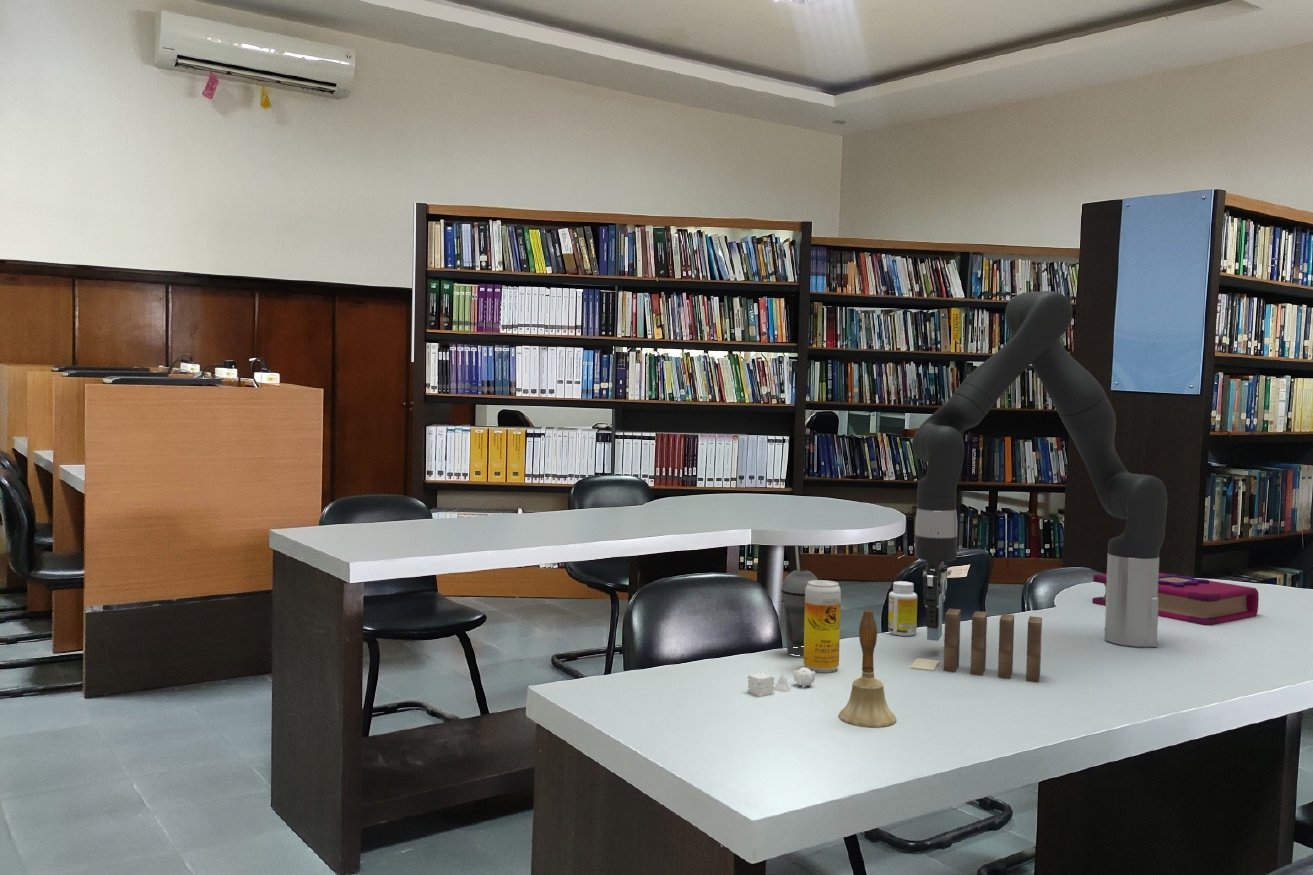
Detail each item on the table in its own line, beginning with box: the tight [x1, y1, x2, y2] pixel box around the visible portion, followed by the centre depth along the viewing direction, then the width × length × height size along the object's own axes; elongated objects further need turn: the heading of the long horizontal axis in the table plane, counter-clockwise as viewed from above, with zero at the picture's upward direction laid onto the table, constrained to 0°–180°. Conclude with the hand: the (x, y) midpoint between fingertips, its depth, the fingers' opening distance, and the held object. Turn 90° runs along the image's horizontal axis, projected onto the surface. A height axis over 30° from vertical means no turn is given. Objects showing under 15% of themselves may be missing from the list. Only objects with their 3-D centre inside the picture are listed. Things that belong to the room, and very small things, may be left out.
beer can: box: [803, 579, 842, 673], centre depth 175 cm, size 6×6×15 cm
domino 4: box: [997, 613, 1015, 680], centre depth 174 cm, size 2×5×10 cm, turn 157°
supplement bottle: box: [887, 580, 918, 637], centre depth 203 cm, size 6×6×10 cm
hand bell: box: [838, 609, 897, 728], centre depth 148 cm, size 8×8×16 cm
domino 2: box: [942, 608, 962, 673], centre depth 177 cm, size 2×5×10 cm, turn 156°
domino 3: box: [970, 610, 988, 676], centre depth 175 cm, size 2×5×10 cm, turn 156°
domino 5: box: [1025, 615, 1043, 683], centre depth 172 cm, size 2×5×10 cm, turn 157°
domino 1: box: [926, 586, 944, 642], centre depth 187 cm, size 2×5×10 cm, turn 157°
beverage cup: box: [781, 544, 819, 656], centre depth 185 cm, size 7×7×20 cm
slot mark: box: [910, 657, 940, 672], centre depth 179 cm, size 4×7×1 cm, turn 157°
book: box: [1092, 572, 1260, 627], centre depth 233 cm, size 21×28×8 cm
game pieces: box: [746, 666, 816, 698], centre depth 162 cm, size 12×3×3 cm, turn 121°
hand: (934, 624), depth 187 cm, fingers closed on domino 1, 5 cm apart
